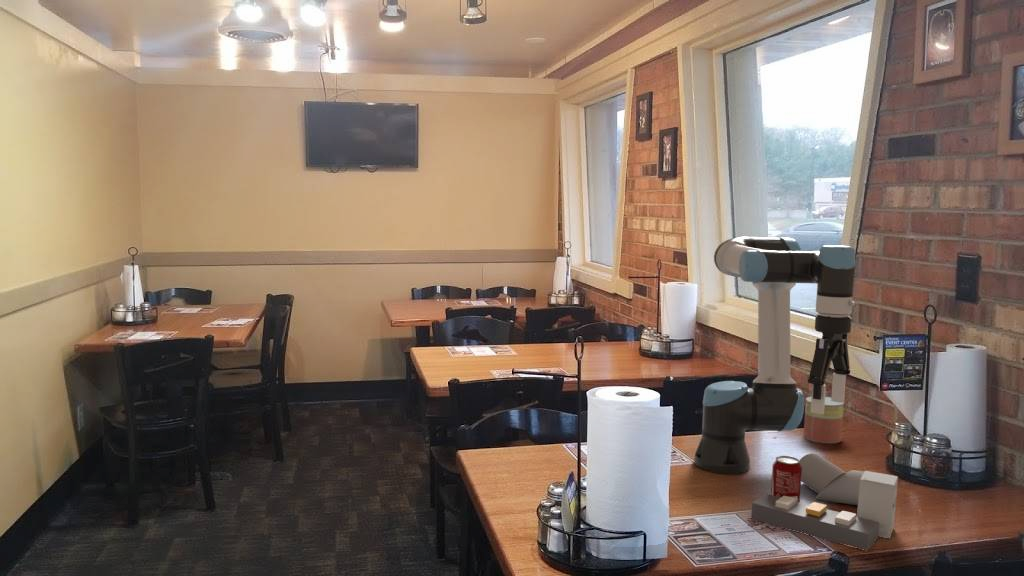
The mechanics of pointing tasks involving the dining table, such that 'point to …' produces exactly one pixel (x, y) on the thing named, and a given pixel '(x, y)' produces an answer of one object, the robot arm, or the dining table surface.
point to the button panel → (816, 521)
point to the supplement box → (878, 500)
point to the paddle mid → (816, 509)
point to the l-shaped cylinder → (830, 480)
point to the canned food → (824, 422)
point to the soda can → (786, 477)
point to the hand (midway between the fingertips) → (827, 407)
